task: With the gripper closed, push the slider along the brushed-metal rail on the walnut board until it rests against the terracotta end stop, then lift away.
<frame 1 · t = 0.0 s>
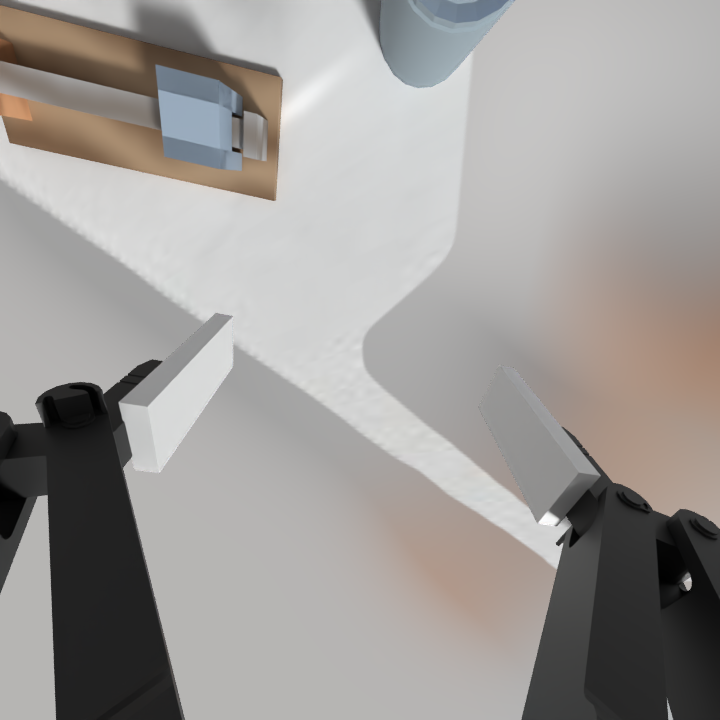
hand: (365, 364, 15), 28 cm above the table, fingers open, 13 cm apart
slider: (205, 125, 30), point 4 cm above the table, slide at 0.0 cm
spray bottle: (425, 27, 30), on the table
rail board: (145, 113, 33), on the table
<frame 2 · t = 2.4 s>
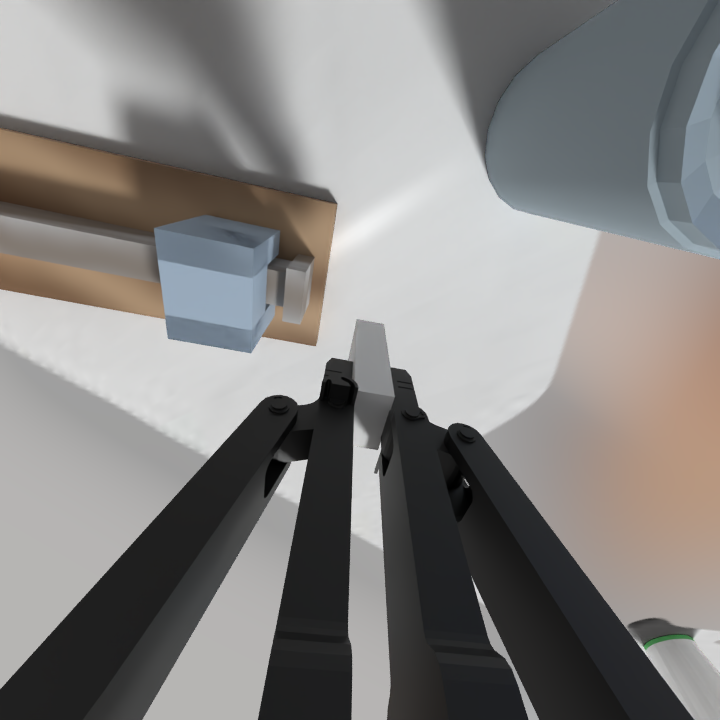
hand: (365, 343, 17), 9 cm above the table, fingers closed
slider: (227, 281, 20), point 4 cm above the table, slide at 0.0 cm
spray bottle: (555, 137, 20), on the table
cup: (666, 641, 60), on the table
rail board: (140, 242, 23), on the table
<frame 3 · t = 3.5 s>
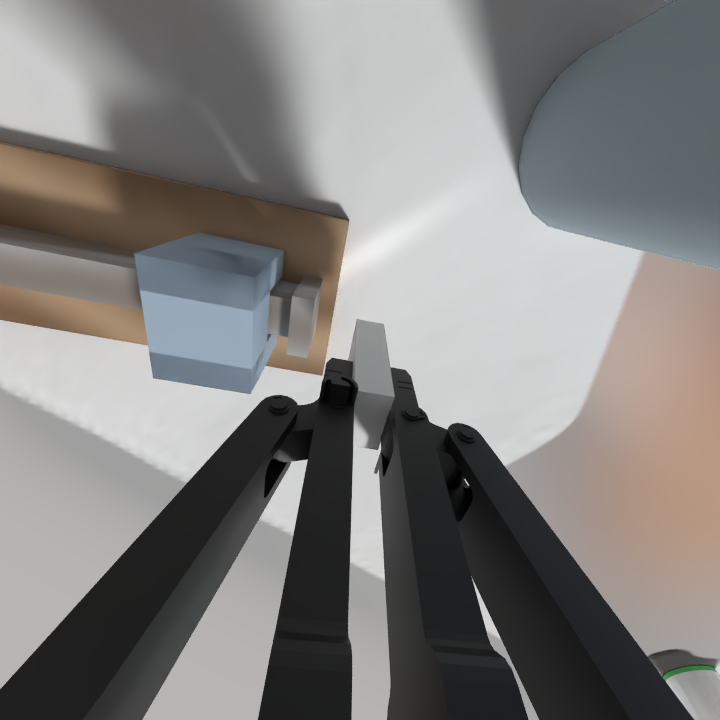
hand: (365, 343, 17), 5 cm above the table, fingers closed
slider: (223, 309, 17), point 4 cm above the table, slide at 0.0 cm
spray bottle: (599, 146, 17), on the table
cup: (687, 672, 57), on the table
rail board: (125, 262, 21), on the table
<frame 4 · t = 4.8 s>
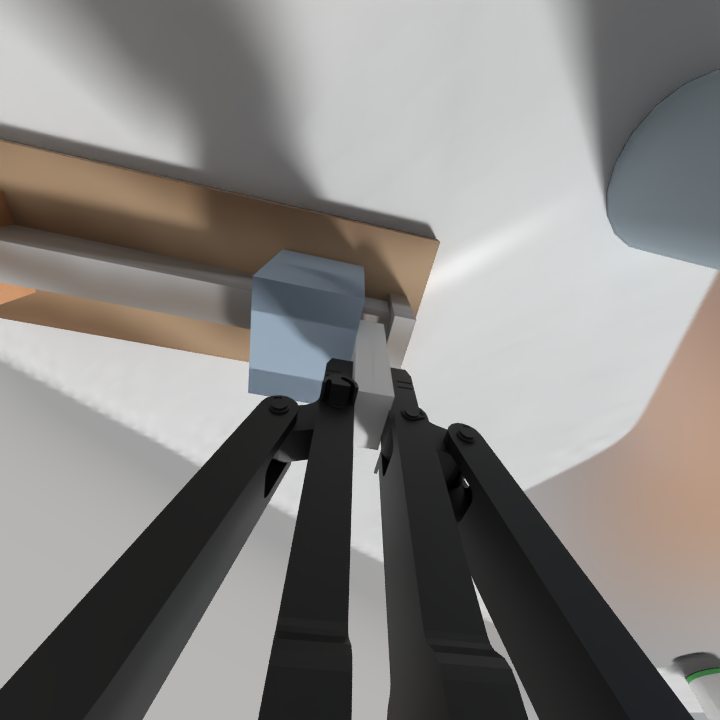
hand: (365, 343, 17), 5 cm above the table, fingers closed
slider: (310, 325, 18), point 4 cm above the table, slide at 0.7 cm, touching gripper
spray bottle: (687, 171, 18), on the table
cup: (710, 674, 58), on the table
rail board: (212, 278, 21), on the table
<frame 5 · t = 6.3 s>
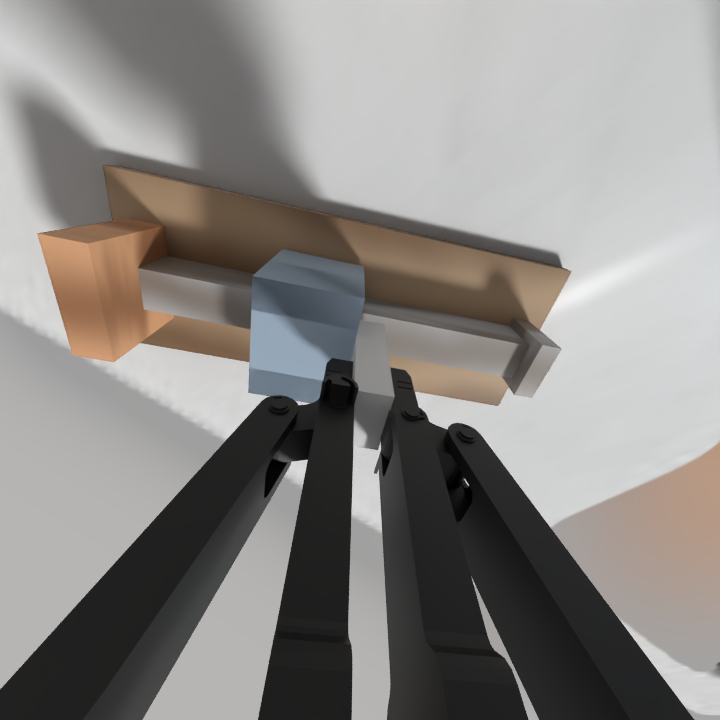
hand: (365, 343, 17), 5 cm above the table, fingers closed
slider: (310, 325, 18), point 4 cm above the table, slide at 9.5 cm, touching gripper
rail board: (339, 303, 22), on the table
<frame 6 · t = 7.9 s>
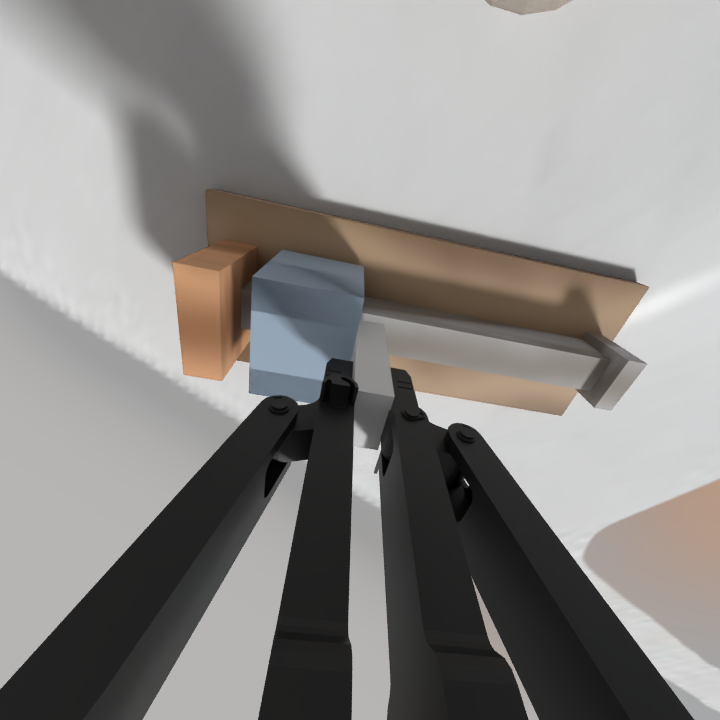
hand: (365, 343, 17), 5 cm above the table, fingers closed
slider: (310, 325, 18), point 4 cm above the table, slide at 14.9 cm, touching gripper
rail board: (414, 318, 22), on the table
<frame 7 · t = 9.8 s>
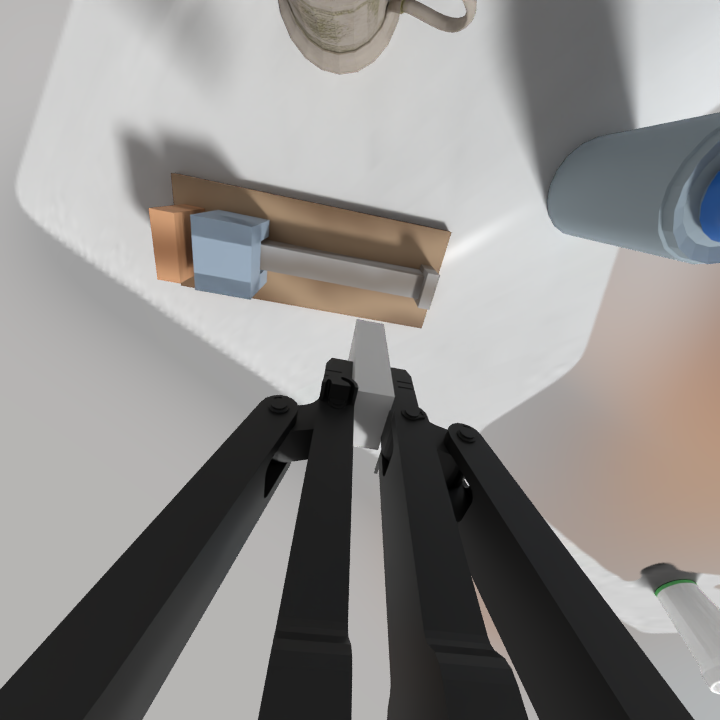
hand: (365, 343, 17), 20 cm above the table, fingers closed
slider: (234, 253, 30), point 4 cm above the table, slide at 15.0 cm
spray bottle: (591, 189, 32), on the table
cup: (674, 588, 71), on the table
rail board: (312, 258, 35), on the table
mug: (365, 12, 25), on the table
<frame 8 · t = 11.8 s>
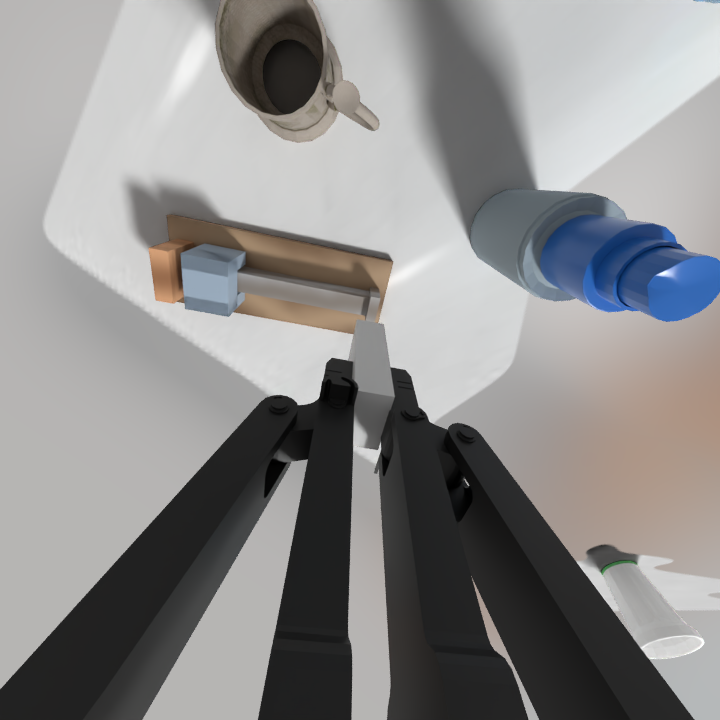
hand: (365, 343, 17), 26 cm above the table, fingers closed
slider: (216, 279, 38), point 4 cm above the table, slide at 15.0 cm
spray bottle: (505, 229, 39), on the table
cup: (618, 568, 79), on the table
rail board: (282, 280, 42), on the table
mug: (315, 98, 33), on the table
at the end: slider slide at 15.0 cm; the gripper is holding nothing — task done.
